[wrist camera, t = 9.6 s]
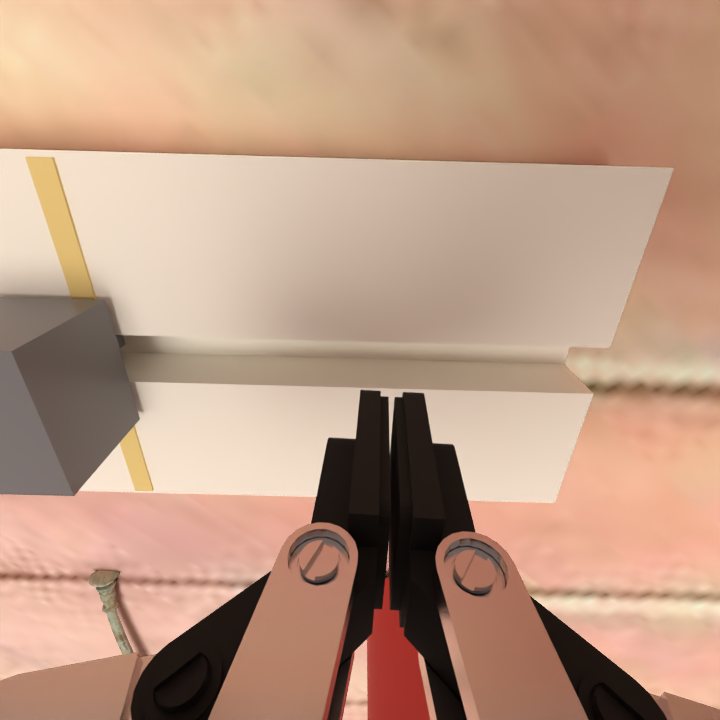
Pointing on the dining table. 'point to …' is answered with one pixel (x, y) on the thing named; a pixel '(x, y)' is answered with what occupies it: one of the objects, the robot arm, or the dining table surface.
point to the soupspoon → (111, 604)
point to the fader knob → (59, 393)
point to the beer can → (393, 669)
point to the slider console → (332, 303)
